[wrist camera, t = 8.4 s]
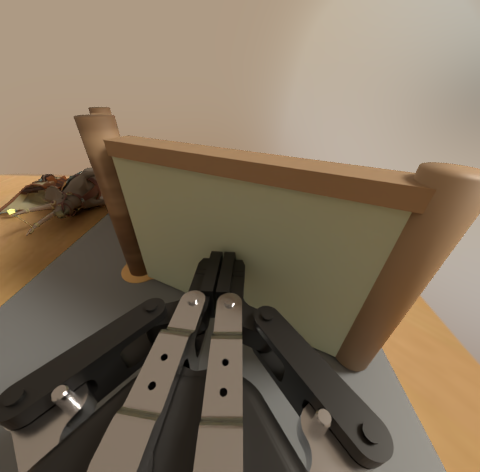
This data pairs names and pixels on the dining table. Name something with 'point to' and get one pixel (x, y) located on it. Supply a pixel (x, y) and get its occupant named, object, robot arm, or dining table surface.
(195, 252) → the fence gate
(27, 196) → the figurine
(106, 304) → the card
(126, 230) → the post
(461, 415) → the dining table surface
